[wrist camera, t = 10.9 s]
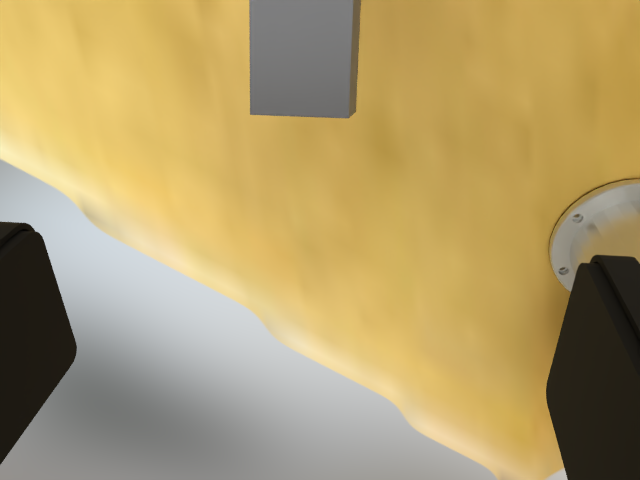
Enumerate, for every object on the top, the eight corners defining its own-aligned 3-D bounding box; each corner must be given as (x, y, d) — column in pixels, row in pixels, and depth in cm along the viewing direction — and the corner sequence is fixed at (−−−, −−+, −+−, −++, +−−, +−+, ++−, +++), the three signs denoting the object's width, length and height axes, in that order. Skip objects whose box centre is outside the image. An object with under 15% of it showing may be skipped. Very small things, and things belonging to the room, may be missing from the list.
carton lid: (536, -61, 31) (516, 103, 33) (178, -62, 33) (184, 92, 35) (720, -239, 13) (652, 129, 16) (-56, -215, 16) (-14, 105, 18)
